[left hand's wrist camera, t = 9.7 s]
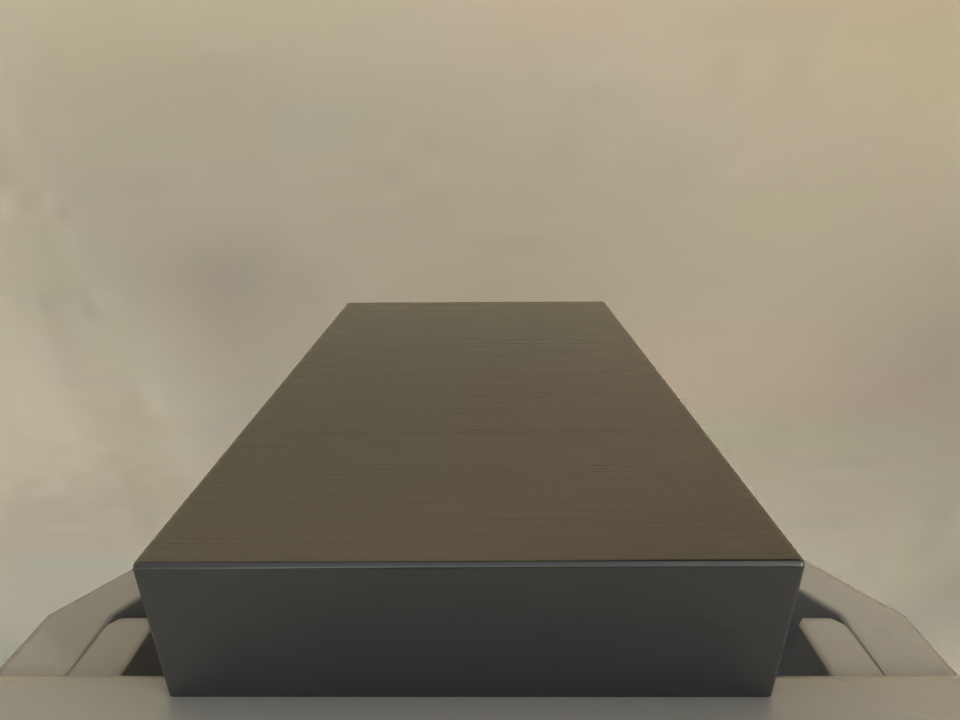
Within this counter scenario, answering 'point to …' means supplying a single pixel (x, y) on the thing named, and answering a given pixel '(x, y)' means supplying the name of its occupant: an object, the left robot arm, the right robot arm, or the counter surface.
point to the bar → (471, 525)
